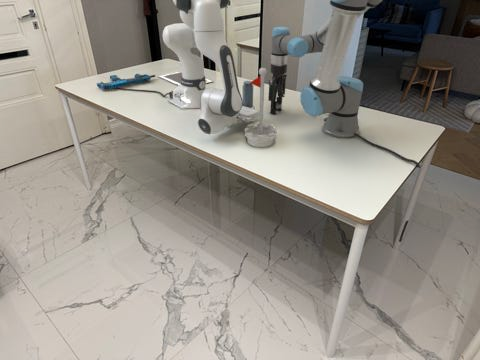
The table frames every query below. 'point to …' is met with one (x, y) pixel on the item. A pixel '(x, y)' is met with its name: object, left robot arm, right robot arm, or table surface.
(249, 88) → the jar
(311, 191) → the table surface
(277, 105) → the lid
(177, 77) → the tablet
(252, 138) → the flag stand
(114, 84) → the submachine gun
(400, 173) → the table surface
